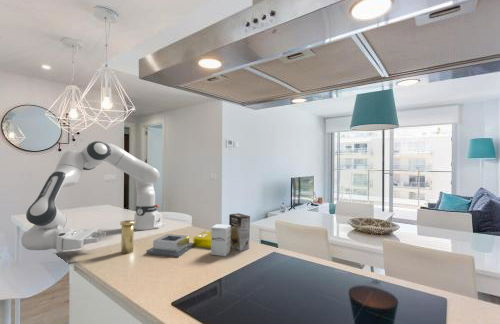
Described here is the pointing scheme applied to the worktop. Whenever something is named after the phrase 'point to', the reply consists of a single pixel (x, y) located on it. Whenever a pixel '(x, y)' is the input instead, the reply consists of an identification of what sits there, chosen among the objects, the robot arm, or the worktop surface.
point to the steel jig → (171, 245)
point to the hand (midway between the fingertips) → (101, 236)
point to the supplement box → (220, 239)
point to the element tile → (203, 239)
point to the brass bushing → (127, 236)
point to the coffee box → (239, 231)
